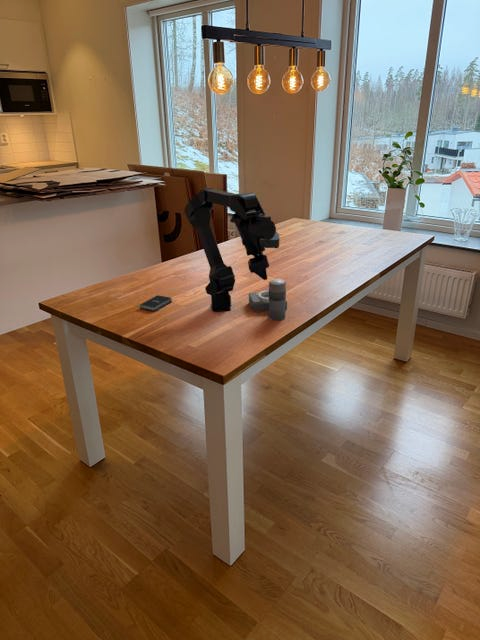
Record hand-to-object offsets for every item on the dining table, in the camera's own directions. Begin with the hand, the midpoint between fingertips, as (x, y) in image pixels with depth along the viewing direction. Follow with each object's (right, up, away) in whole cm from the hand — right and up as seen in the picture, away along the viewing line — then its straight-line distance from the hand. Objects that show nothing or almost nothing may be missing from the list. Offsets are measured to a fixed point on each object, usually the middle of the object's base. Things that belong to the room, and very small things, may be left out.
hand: (264, 271), depth 149 cm
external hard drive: (-39, -11, +16) cm, 44 cm away
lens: (+5, -15, +3) cm, 16 cm away
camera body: (+2, -11, +12) cm, 17 cm away
